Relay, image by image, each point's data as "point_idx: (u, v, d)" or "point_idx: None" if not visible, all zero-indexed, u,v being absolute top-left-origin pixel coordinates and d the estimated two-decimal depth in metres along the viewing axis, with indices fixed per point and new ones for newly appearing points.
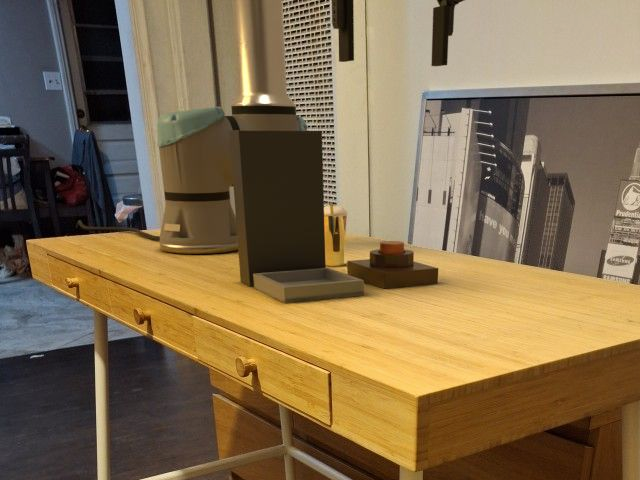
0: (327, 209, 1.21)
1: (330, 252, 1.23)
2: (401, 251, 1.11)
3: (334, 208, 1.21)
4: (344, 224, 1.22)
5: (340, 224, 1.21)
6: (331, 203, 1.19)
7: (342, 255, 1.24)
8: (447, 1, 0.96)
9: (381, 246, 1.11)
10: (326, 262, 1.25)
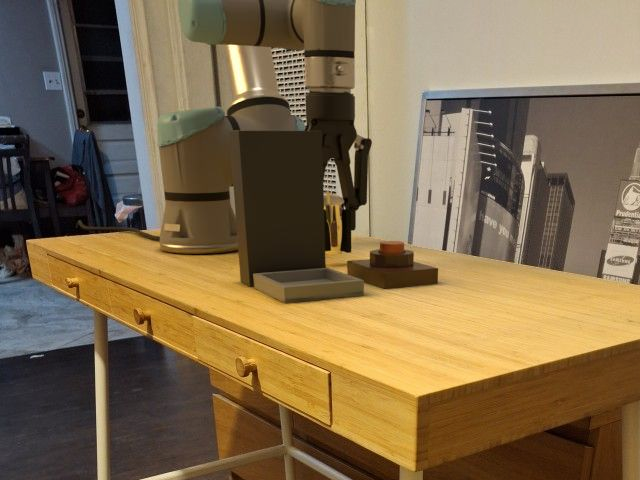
0: (324, 198, 1.20)
1: (328, 241, 1.23)
2: (401, 251, 1.11)
3: (331, 197, 1.20)
4: (341, 213, 1.22)
5: (337, 213, 1.21)
6: (328, 192, 1.18)
7: (340, 244, 1.24)
8: (349, 205, 1.22)
9: (381, 246, 1.11)
10: None
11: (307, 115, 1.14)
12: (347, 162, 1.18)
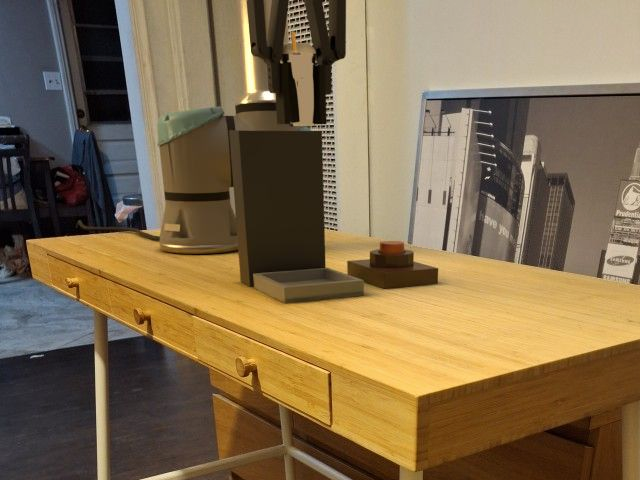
0: (288, 45, 0.91)
1: (295, 106, 0.94)
2: (401, 251, 1.11)
3: (298, 43, 0.91)
4: (312, 66, 0.92)
5: (306, 65, 0.91)
6: (292, 33, 0.89)
7: (312, 111, 0.95)
8: (322, 58, 0.93)
9: (381, 246, 1.11)
10: (291, 122, 0.95)
11: None
12: None
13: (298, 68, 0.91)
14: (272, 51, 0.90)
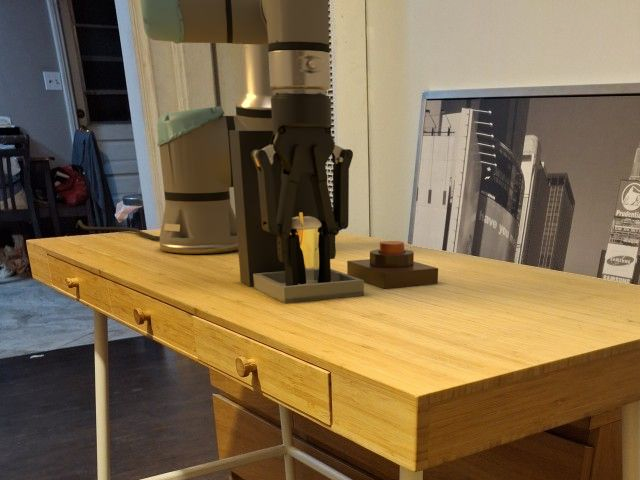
0: (296, 221, 1.00)
1: (302, 272, 1.03)
2: (401, 251, 1.11)
3: (305, 219, 1.00)
4: (318, 238, 1.01)
5: (313, 238, 1.00)
6: (301, 214, 0.98)
7: (317, 275, 1.04)
8: (327, 229, 1.02)
9: (381, 246, 1.11)
10: (298, 284, 1.04)
11: (273, 122, 0.94)
12: (323, 178, 0.98)
13: (305, 241, 1.00)
14: (282, 229, 0.99)
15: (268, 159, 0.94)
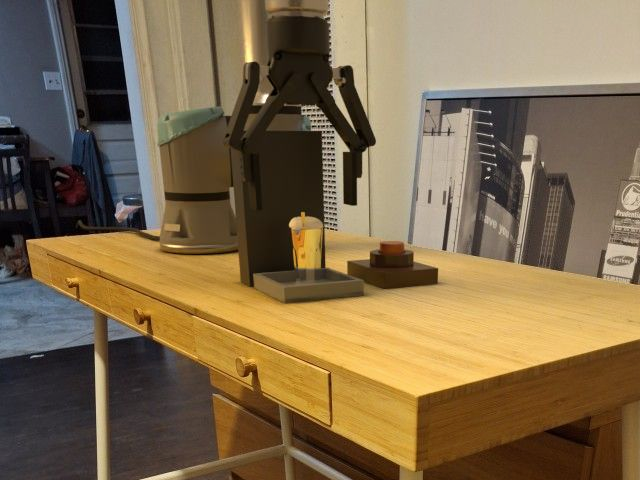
0: (298, 221, 1.00)
1: (303, 272, 1.03)
2: (401, 251, 1.11)
3: (307, 219, 1.00)
4: (319, 239, 1.01)
5: (314, 239, 1.01)
6: (303, 214, 0.98)
7: (317, 275, 1.04)
8: (355, 148, 1.00)
9: (381, 246, 1.11)
10: (298, 284, 1.04)
11: (269, 47, 0.91)
12: (331, 102, 0.95)
13: (306, 241, 1.00)
14: (245, 142, 0.93)
15: (259, 75, 0.90)
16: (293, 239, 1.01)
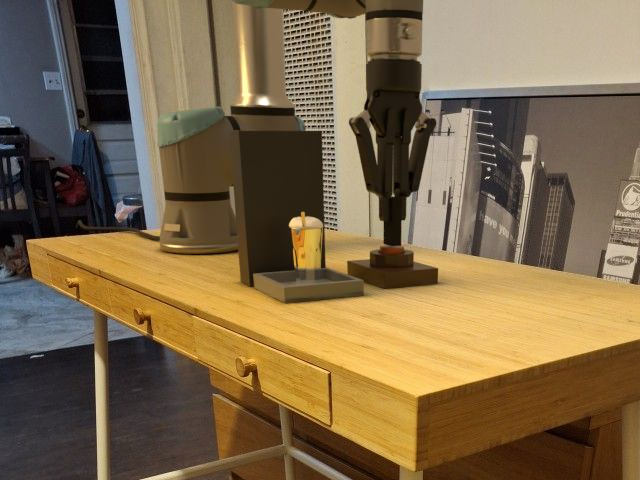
0: (298, 221, 1.00)
1: (303, 272, 1.03)
2: None
3: (307, 219, 1.00)
4: (319, 239, 1.01)
5: (314, 239, 1.01)
6: (303, 214, 0.98)
7: (317, 275, 1.04)
8: (400, 190, 1.08)
9: (381, 250, 1.11)
10: (298, 284, 1.04)
11: (368, 86, 1.01)
12: (407, 140, 1.04)
13: (306, 241, 1.00)
14: (384, 190, 1.06)
15: (366, 124, 1.01)
16: (293, 239, 1.01)
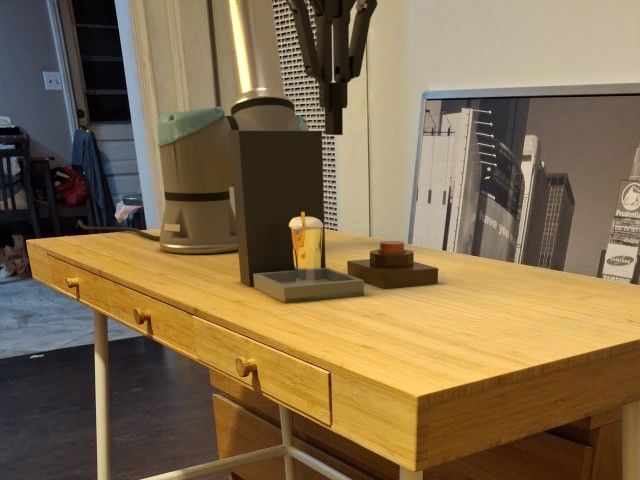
0: (298, 221, 1.00)
1: (303, 272, 1.03)
2: (401, 251, 1.11)
3: (307, 219, 1.00)
4: (319, 239, 1.01)
5: (314, 239, 1.01)
6: (303, 214, 0.98)
7: (317, 275, 1.04)
8: (340, 75, 1.05)
9: (381, 246, 1.11)
10: (298, 284, 1.04)
11: None
12: (346, 20, 1.01)
13: (306, 241, 1.00)
14: (324, 73, 1.03)
15: None
16: (293, 239, 1.01)
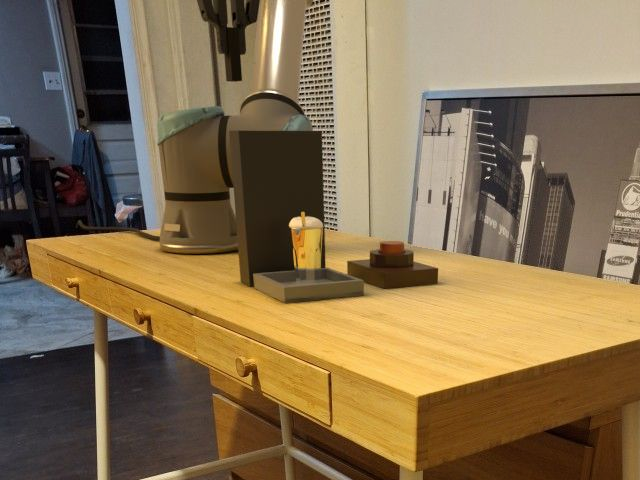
0: (298, 221, 1.00)
1: (303, 272, 1.03)
2: (401, 251, 1.11)
3: (307, 219, 1.00)
4: (319, 239, 1.01)
5: (314, 239, 1.01)
6: (303, 214, 0.98)
7: (317, 275, 1.04)
8: (237, 20, 1.06)
9: (381, 246, 1.11)
10: (298, 284, 1.04)
11: None
12: None
13: (306, 241, 1.00)
14: (219, 17, 1.05)
15: None
16: (293, 239, 1.01)
